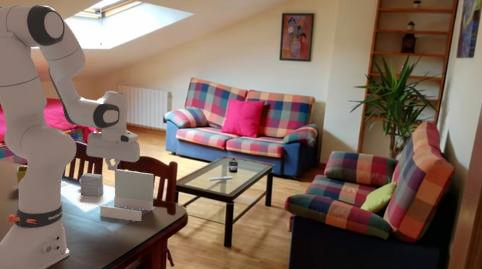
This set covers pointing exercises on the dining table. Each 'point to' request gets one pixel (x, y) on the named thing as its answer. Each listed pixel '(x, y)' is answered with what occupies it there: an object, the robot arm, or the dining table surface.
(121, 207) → the blue-grey rectangular bar
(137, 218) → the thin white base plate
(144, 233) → the dining table surface
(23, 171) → the flower pot
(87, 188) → the medicine box
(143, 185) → the lid
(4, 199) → the dining table surface
